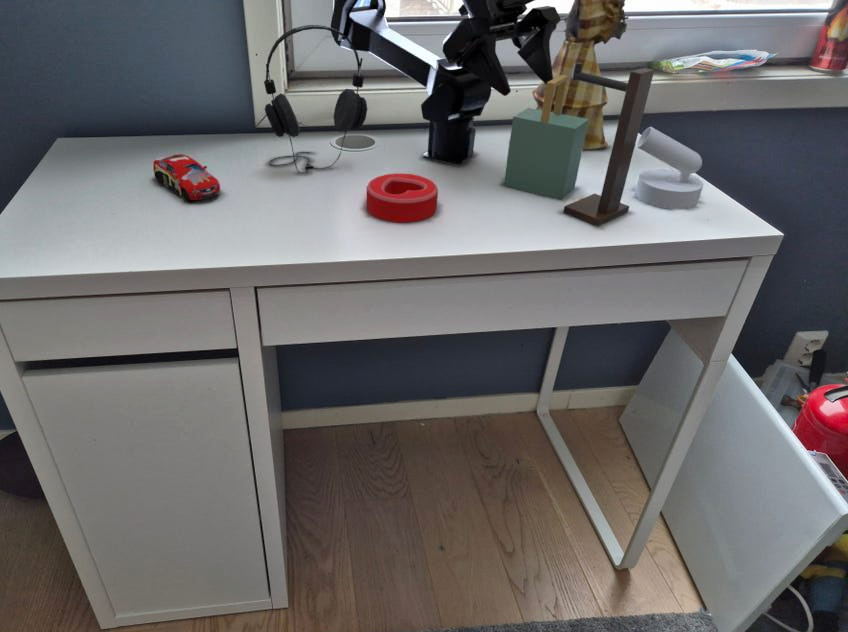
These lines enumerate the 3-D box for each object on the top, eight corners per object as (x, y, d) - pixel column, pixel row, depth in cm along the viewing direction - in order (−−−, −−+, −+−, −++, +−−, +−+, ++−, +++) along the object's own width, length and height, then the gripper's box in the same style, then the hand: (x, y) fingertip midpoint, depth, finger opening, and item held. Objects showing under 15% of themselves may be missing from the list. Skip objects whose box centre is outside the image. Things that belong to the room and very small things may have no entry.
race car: (227, 198, 92) (223, 170, 89) (192, 207, 89) (187, 179, 87) (184, 170, 100) (180, 144, 97) (150, 178, 97) (145, 151, 95)
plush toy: (509, 119, 119) (546, -32, 100) (581, 120, 120) (631, -28, 101) (528, 163, 110) (574, 6, 91) (606, 164, 111) (666, 9, 92)
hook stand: (534, 201, 92) (559, 60, 81) (565, 189, 96) (592, 52, 85) (598, 226, 86) (634, 77, 75) (627, 212, 89) (666, 68, 78)
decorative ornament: (395, 188, 95) (396, 167, 93) (449, 206, 90) (451, 184, 88) (352, 208, 89) (351, 186, 87) (408, 229, 84) (409, 206, 83)
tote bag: (503, 185, 97) (518, 77, 88) (518, 174, 100) (534, 70, 91) (561, 199, 93) (583, 88, 84) (574, 188, 96) (597, 80, 87)
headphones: (349, 148, 109) (349, 14, 97) (371, 172, 100) (373, 28, 88) (260, 157, 105) (248, 18, 93) (274, 182, 96) (263, 34, 84)
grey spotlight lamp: (638, 117, 93) (712, 122, 91) (621, 182, 98) (691, 188, 97) (646, 136, 86) (727, 142, 84) (628, 205, 92) (703, 211, 90)
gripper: (467, -55, 78) (525, 61, 78) (562, -62, 88) (614, 41, 88) (418, 9, 88) (470, 113, 88) (508, -3, 97) (555, 90, 97)
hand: (529, 88), depth 90 cm, fingers open, 9 cm apart
